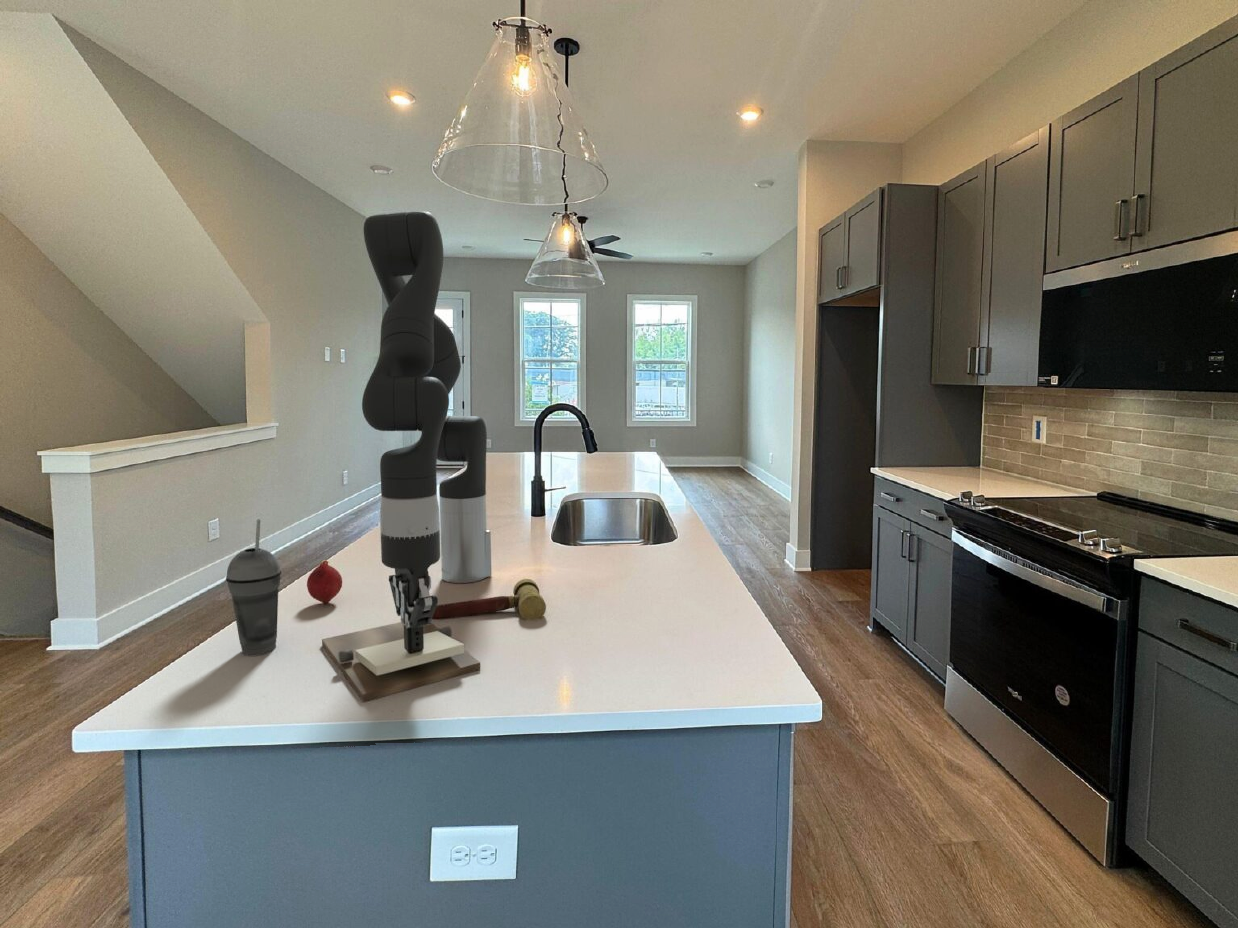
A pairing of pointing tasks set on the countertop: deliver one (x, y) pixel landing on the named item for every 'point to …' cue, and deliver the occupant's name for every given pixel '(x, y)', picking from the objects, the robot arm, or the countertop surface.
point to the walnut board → (395, 681)
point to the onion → (324, 582)
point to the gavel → (499, 604)
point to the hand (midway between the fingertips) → (414, 650)
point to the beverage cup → (255, 597)
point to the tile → (398, 658)
